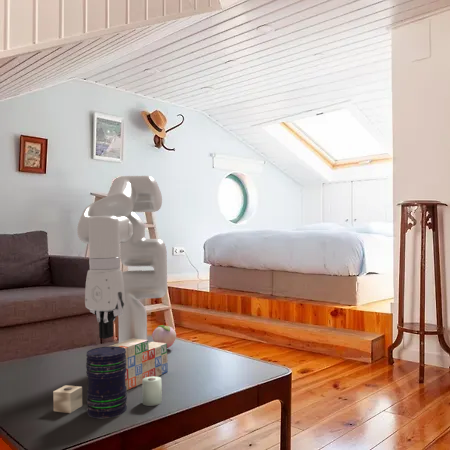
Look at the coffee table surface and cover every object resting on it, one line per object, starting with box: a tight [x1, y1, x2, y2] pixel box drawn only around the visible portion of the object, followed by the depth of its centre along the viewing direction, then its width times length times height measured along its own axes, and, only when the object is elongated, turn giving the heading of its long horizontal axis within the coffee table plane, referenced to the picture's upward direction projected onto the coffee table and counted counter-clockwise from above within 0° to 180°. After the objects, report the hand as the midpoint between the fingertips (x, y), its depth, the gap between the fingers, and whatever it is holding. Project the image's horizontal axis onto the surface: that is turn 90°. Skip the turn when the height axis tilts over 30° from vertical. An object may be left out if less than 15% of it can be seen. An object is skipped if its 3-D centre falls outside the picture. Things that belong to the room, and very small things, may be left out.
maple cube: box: [52, 384, 83, 414], centre depth 119 cm, size 5×5×5 cm
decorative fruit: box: [151, 324, 177, 349], centre depth 177 cm, size 9×8×10 cm
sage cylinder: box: [141, 376, 163, 407], centre depth 122 cm, size 5×5×6 cm
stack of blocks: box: [106, 338, 169, 391], centre depth 141 cm, size 21×6×12 cm, turn 149°
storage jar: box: [85, 345, 128, 419], centre depth 117 cm, size 10×10×15 cm
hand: (106, 337), depth 118 cm, fingers closed
